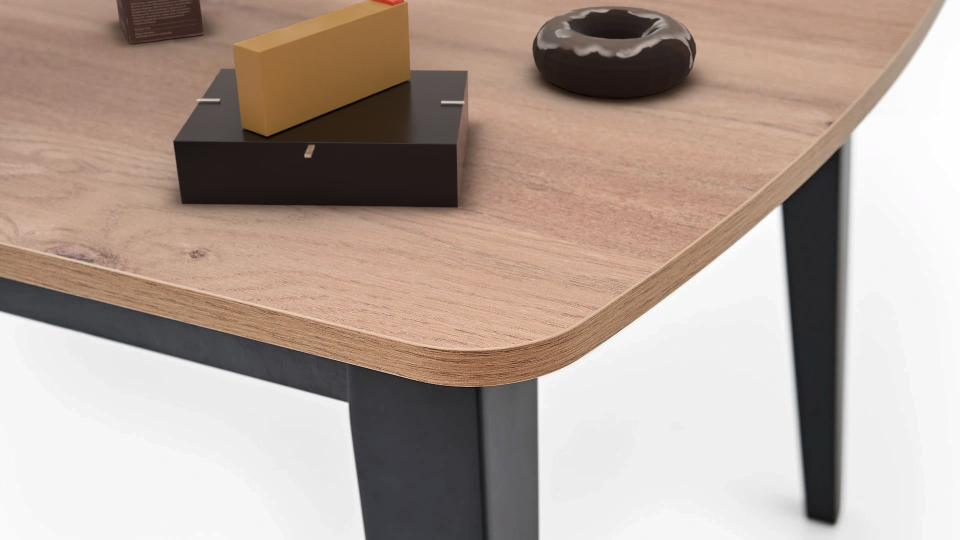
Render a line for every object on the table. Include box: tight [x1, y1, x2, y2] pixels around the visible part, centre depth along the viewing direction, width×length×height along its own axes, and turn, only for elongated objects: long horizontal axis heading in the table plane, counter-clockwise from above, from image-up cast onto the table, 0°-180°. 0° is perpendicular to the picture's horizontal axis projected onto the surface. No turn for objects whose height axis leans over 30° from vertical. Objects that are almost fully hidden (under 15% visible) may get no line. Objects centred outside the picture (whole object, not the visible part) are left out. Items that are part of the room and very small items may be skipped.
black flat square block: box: [172, 68, 469, 208], centre depth 74 cm, size 16×16×4 cm
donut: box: [531, 5, 697, 99], centre depth 87 cm, size 12×12×4 cm
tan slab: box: [232, 0, 411, 136], centre depth 72 cm, size 12×2×5 cm, turn 140°
